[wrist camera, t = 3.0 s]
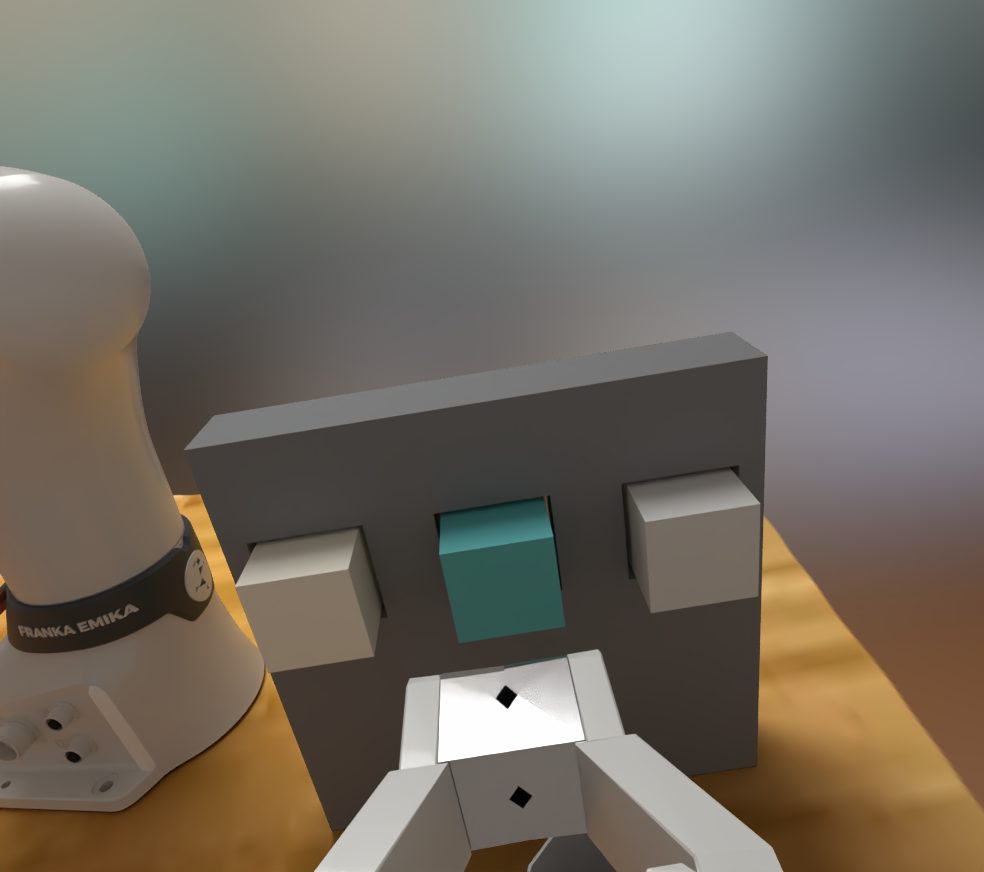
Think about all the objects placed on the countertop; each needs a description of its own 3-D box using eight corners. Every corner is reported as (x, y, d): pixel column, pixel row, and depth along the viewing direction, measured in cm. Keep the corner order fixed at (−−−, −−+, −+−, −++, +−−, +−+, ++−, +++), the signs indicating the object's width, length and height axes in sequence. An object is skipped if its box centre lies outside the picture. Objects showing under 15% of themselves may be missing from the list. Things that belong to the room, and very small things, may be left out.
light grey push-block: (650, 613, 30) (645, 522, 28) (620, 540, 35) (614, 460, 33) (758, 596, 30) (760, 503, 28) (711, 526, 35) (710, 444, 33)
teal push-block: (459, 643, 30) (439, 554, 28) (458, 566, 36) (441, 487, 34) (565, 626, 30) (553, 536, 28) (548, 552, 36) (537, 472, 33)
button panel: (331, 830, 39) (183, 450, 29) (342, 772, 43) (213, 415, 32) (756, 765, 39) (767, 355, 28) (730, 712, 43) (731, 331, 32)
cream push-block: (268, 672, 30) (234, 587, 28) (296, 592, 36) (270, 515, 34) (374, 656, 30) (348, 569, 28) (386, 577, 36) (365, 500, 34)
